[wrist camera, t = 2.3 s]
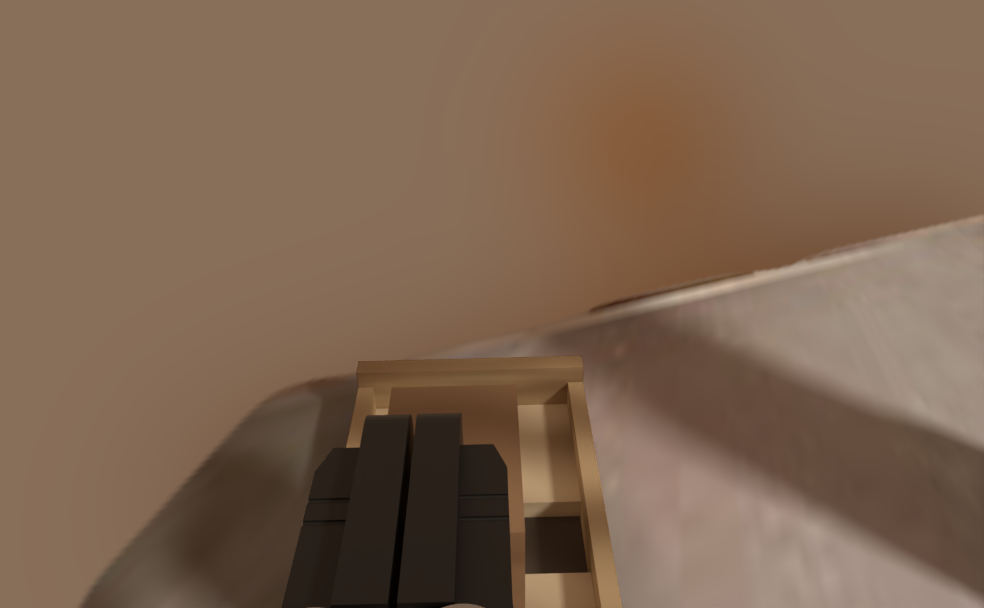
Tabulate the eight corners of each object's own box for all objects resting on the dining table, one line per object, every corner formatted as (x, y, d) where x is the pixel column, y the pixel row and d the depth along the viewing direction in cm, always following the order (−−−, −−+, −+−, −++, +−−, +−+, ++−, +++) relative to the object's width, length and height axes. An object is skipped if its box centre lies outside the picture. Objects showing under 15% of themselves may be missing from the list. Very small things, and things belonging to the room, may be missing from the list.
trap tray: (649, 850, 26) (660, 794, 23) (283, 859, 26) (263, 804, 24) (578, 408, 44) (581, 355, 42) (366, 413, 44) (358, 361, 42)
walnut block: (525, 770, 27) (525, 532, 20) (407, 773, 27) (369, 536, 20) (517, 615, 32) (516, 384, 25) (419, 618, 32) (391, 387, 25)
